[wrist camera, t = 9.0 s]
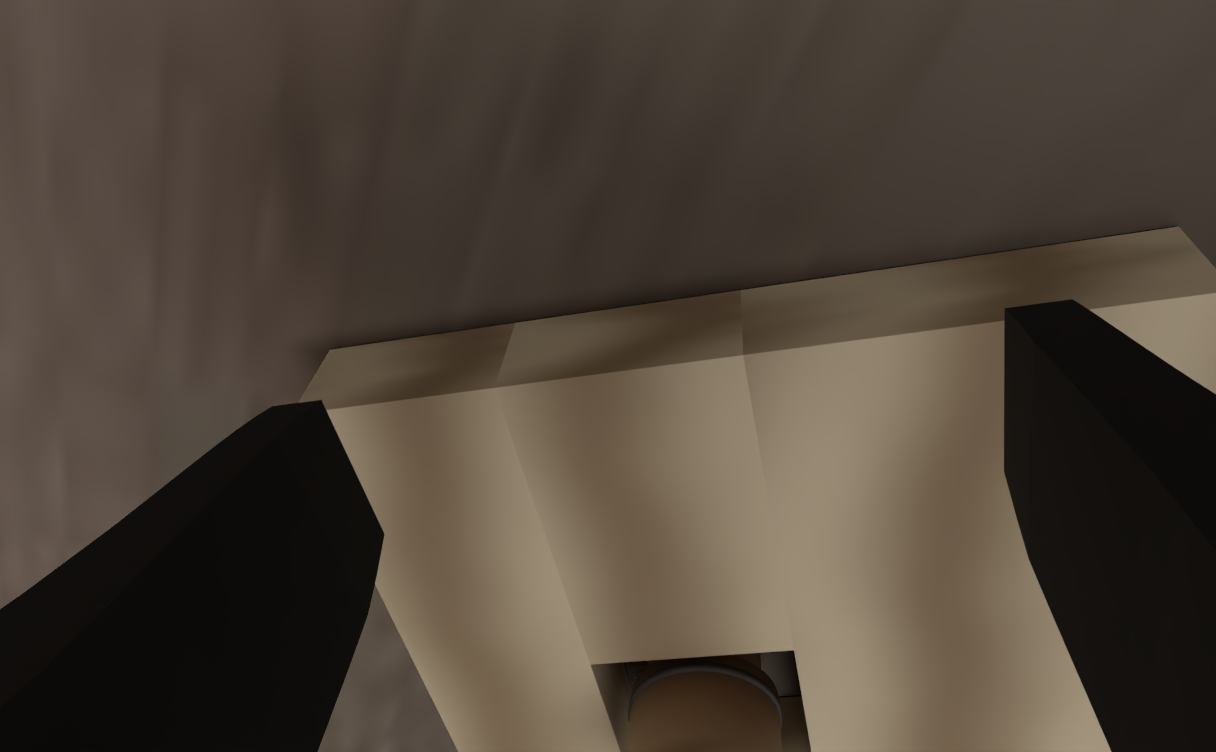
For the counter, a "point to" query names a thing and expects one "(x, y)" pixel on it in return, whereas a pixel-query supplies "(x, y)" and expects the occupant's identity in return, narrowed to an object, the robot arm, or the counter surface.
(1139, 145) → the counter surface
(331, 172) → the counter surface
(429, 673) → the board
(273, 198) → the counter surface
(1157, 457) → the robot arm
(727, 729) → the peg
